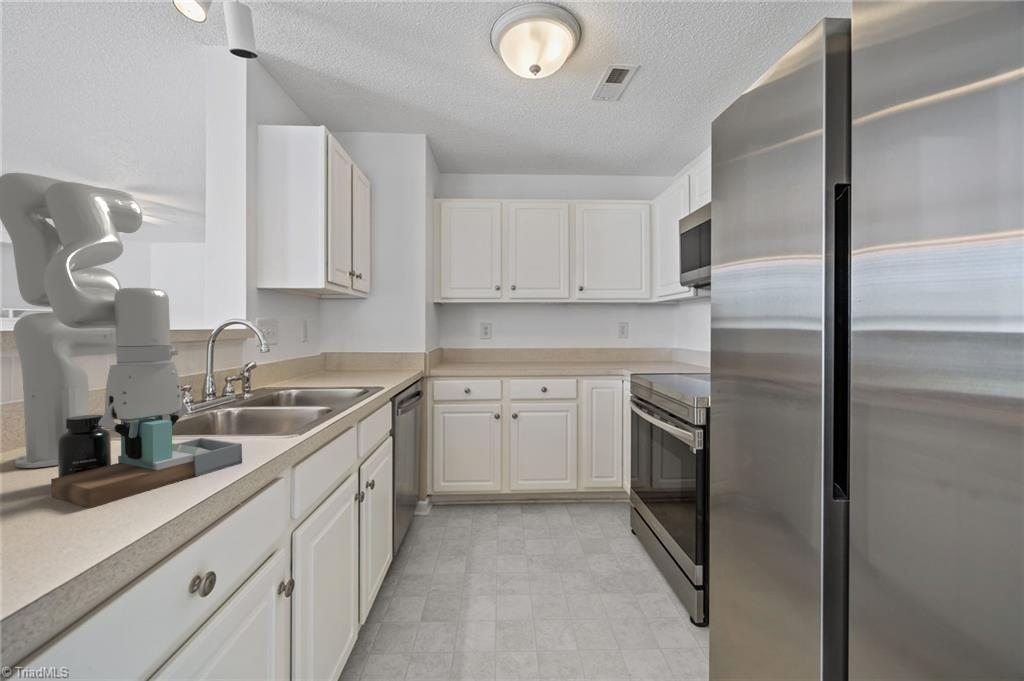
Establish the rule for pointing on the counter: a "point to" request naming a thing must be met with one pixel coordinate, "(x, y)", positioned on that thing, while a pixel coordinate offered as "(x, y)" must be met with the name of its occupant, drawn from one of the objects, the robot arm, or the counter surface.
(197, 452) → the tile
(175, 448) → the tile
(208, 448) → the tray
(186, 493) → the counter surface
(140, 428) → the teal cube on plate
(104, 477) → the board
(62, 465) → the supplement bottle
